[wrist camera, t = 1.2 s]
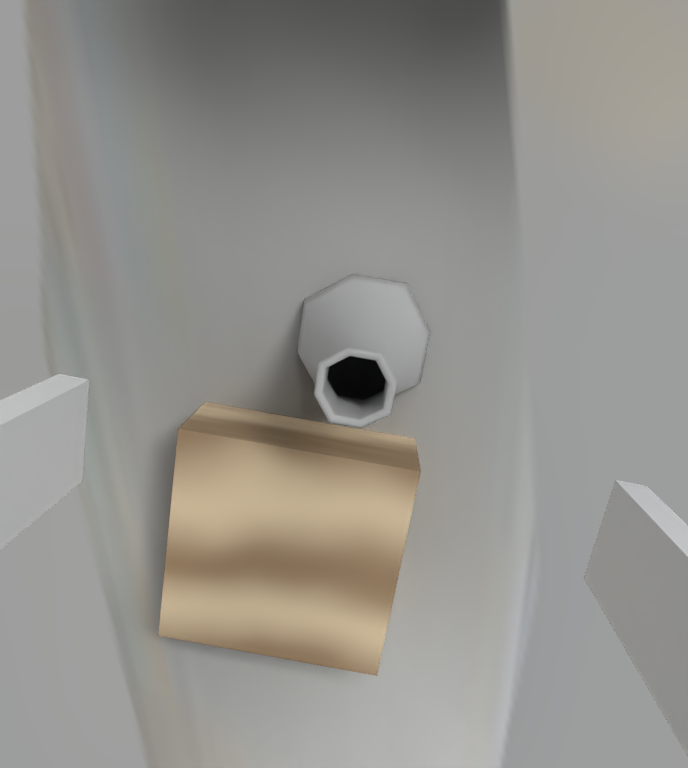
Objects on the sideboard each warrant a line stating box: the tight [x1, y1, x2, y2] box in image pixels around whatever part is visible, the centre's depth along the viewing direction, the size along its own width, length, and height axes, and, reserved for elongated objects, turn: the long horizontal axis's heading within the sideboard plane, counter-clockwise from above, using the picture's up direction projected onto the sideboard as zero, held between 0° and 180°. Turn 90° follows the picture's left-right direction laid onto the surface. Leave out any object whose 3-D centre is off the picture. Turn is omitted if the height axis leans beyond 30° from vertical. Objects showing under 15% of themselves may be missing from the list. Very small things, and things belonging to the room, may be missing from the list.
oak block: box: [158, 402, 421, 676], centre depth 33 cm, size 12×12×5 cm
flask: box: [297, 274, 430, 428], centre depth 27 cm, size 7×7×10 cm
